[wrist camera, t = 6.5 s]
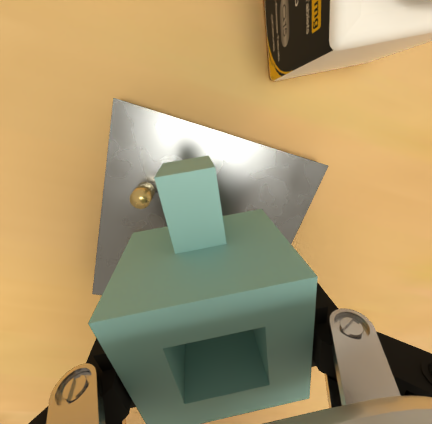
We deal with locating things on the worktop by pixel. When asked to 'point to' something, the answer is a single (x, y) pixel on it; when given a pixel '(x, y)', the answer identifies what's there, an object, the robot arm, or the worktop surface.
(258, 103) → the worktop surface
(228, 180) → the post base
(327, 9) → the medicine bottle
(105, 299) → the teal hollow square block
